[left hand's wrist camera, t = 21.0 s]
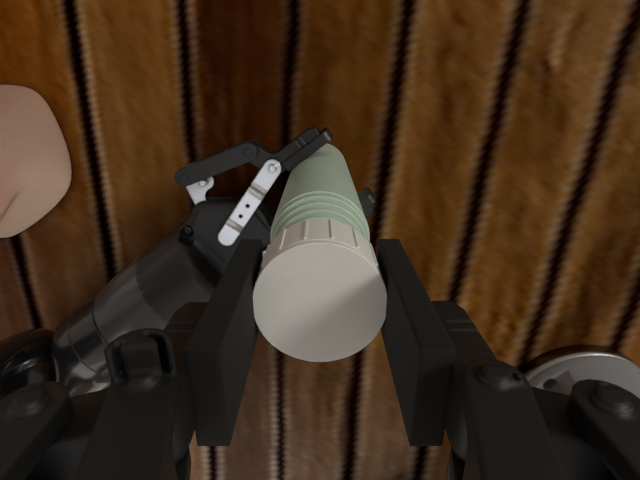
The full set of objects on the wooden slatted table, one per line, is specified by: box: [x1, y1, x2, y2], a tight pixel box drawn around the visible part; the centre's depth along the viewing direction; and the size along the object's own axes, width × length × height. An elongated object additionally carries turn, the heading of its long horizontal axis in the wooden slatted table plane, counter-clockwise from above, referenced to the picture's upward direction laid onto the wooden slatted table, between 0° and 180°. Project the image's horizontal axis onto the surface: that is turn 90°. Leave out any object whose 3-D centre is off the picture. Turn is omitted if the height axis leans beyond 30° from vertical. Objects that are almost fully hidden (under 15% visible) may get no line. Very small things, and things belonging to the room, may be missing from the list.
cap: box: [253, 219, 387, 362], centre depth 14 cm, size 4×4×2 cm
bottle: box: [270, 144, 370, 244], centre depth 23 cm, size 5×5×22 cm
